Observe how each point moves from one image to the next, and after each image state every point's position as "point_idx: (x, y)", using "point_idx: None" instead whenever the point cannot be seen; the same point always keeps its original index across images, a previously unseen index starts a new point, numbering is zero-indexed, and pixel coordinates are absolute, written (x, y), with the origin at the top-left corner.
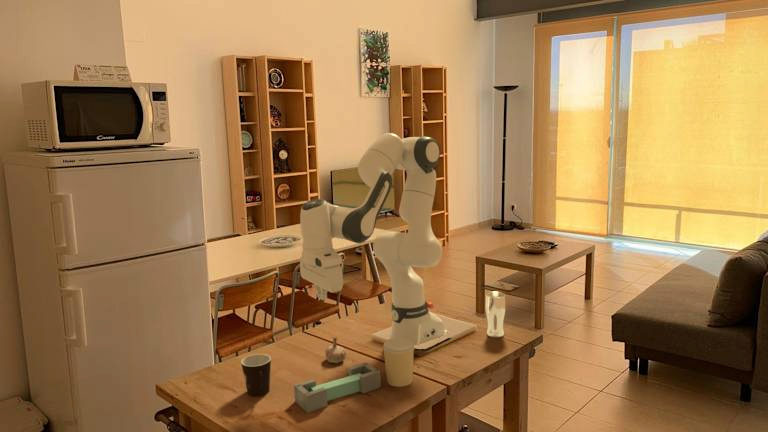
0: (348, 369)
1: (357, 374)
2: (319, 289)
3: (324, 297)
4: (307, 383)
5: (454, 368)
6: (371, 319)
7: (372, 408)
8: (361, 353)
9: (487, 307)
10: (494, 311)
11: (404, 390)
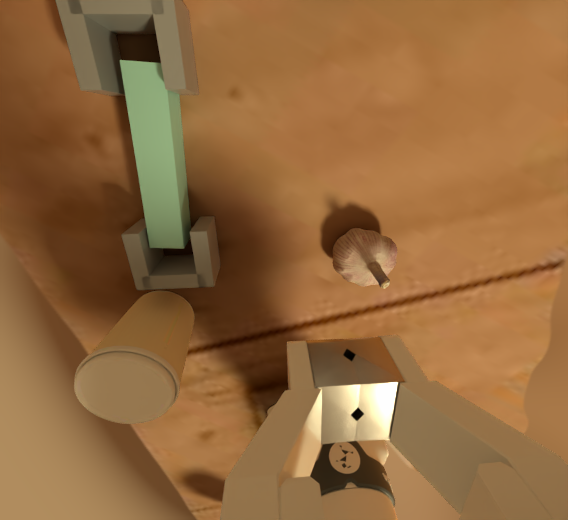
0: (207, 229)
1: (179, 239)
2: (432, 446)
3: (288, 381)
4: (160, 48)
5: None
6: (478, 401)
7: (50, 198)
8: (346, 313)
9: None
10: None
11: (113, 301)
